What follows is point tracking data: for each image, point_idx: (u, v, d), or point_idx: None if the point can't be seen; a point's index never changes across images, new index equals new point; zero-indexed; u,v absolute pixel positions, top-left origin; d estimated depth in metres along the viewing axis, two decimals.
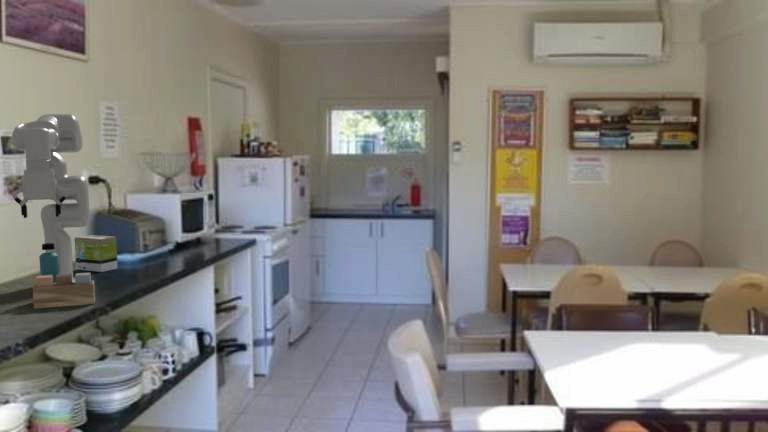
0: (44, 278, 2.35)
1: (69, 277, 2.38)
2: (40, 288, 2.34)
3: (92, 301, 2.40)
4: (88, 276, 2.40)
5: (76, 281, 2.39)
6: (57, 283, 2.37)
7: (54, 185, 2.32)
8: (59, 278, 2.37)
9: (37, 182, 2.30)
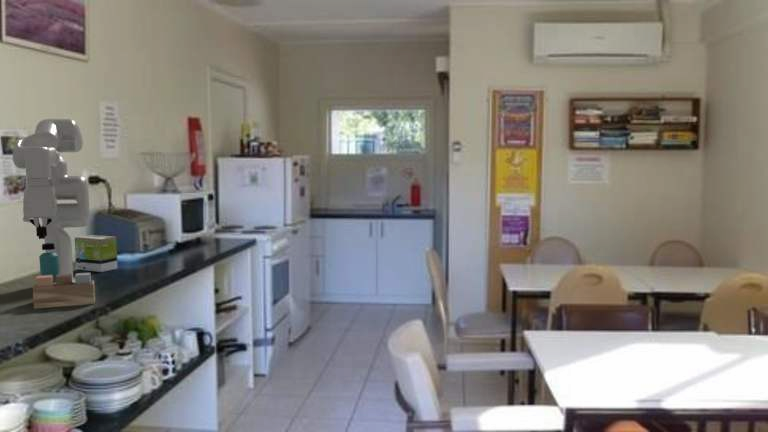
0: (44, 278, 2.35)
1: (69, 277, 2.38)
2: (40, 288, 2.34)
3: (92, 301, 2.40)
4: (88, 276, 2.40)
5: (76, 281, 2.39)
6: (57, 283, 2.37)
7: (54, 203, 2.34)
8: (59, 278, 2.37)
9: (37, 201, 2.32)
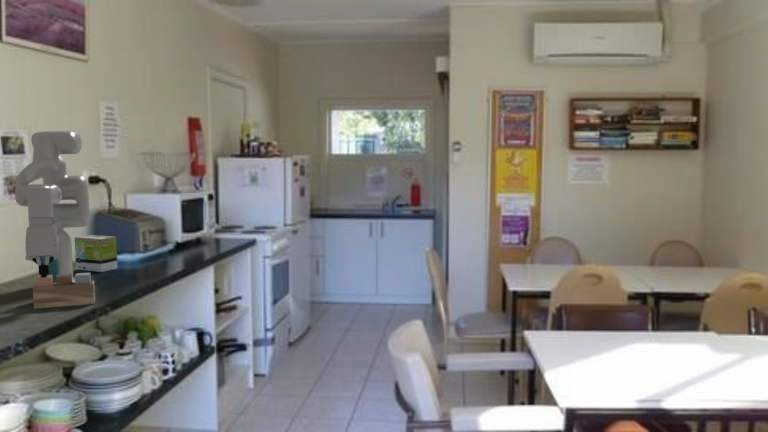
0: (44, 278, 2.35)
1: (69, 277, 2.38)
2: (40, 288, 2.34)
3: (92, 301, 2.40)
4: (88, 276, 2.40)
5: (76, 281, 2.39)
6: (57, 283, 2.37)
7: (56, 242, 2.36)
8: (59, 278, 2.37)
9: (40, 239, 2.33)
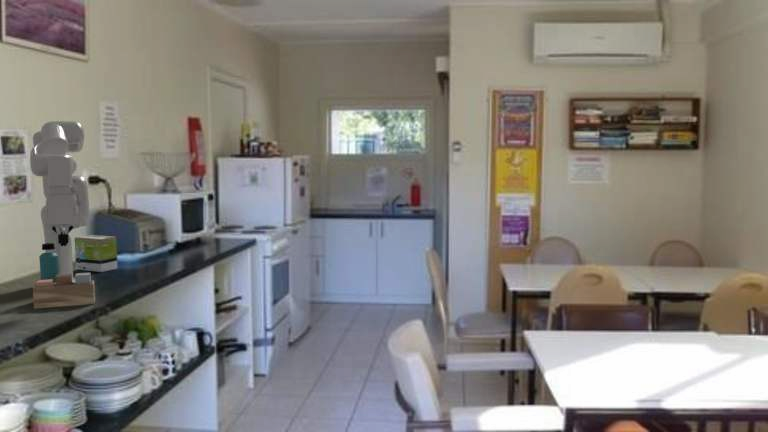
0: (44, 282, 2.35)
1: (69, 277, 2.38)
2: (40, 288, 2.34)
3: (92, 301, 2.40)
4: (88, 276, 2.40)
5: (76, 281, 2.39)
6: (57, 283, 2.37)
7: (75, 211, 2.37)
8: (59, 278, 2.37)
9: (59, 208, 2.35)
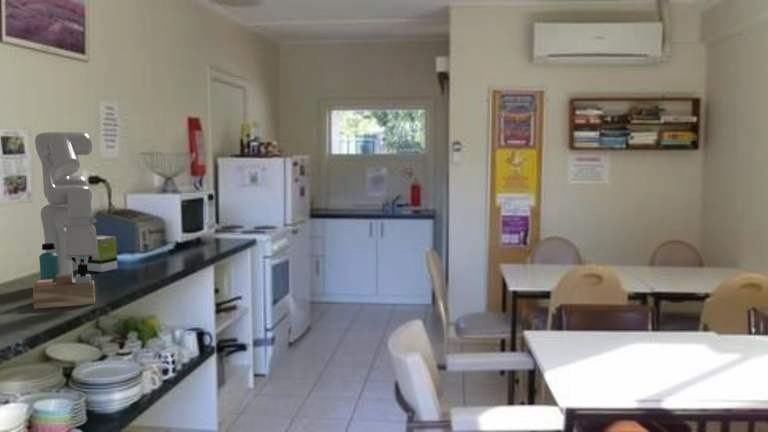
0: (44, 282, 2.35)
1: (69, 277, 2.38)
2: (40, 288, 2.34)
3: (92, 301, 2.40)
4: (88, 278, 2.40)
5: (76, 283, 2.39)
6: (57, 283, 2.37)
7: (95, 241, 2.40)
8: (59, 278, 2.37)
9: (79, 239, 2.38)
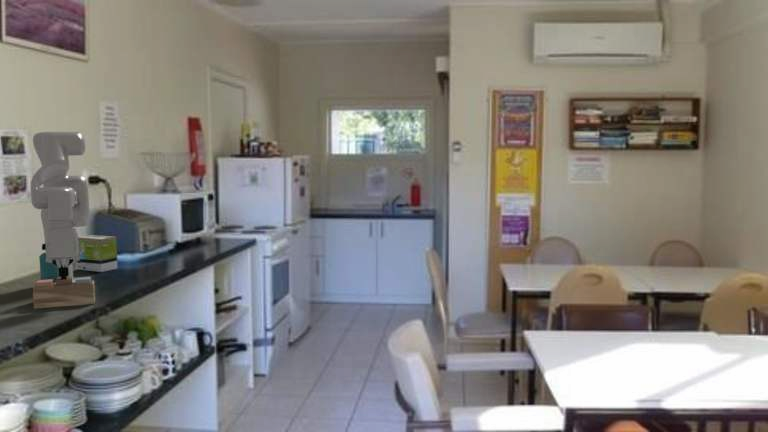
0: (44, 282, 2.35)
1: (69, 280, 2.38)
2: (40, 288, 2.34)
3: (92, 301, 2.40)
4: (88, 280, 2.40)
5: None
6: None
7: (76, 244, 2.38)
8: (59, 281, 2.37)
9: (60, 242, 2.36)
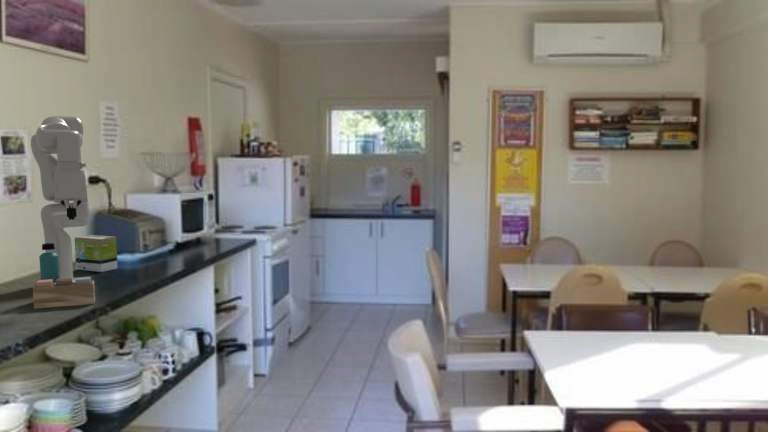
0: (44, 282, 2.35)
1: (69, 281, 2.38)
2: (40, 288, 2.34)
3: (92, 301, 2.40)
4: (88, 280, 2.40)
5: None
6: None
7: (84, 186, 2.44)
8: (59, 282, 2.37)
9: (68, 183, 2.41)
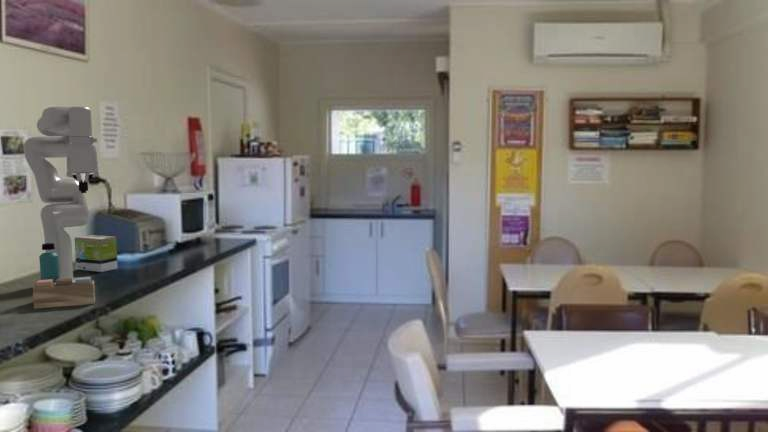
0: (44, 282, 2.35)
1: (69, 281, 2.38)
2: (40, 288, 2.34)
3: (92, 301, 2.40)
4: (88, 280, 2.40)
5: None
6: None
7: (95, 160, 2.51)
8: (59, 282, 2.37)
9: (80, 157, 2.49)
